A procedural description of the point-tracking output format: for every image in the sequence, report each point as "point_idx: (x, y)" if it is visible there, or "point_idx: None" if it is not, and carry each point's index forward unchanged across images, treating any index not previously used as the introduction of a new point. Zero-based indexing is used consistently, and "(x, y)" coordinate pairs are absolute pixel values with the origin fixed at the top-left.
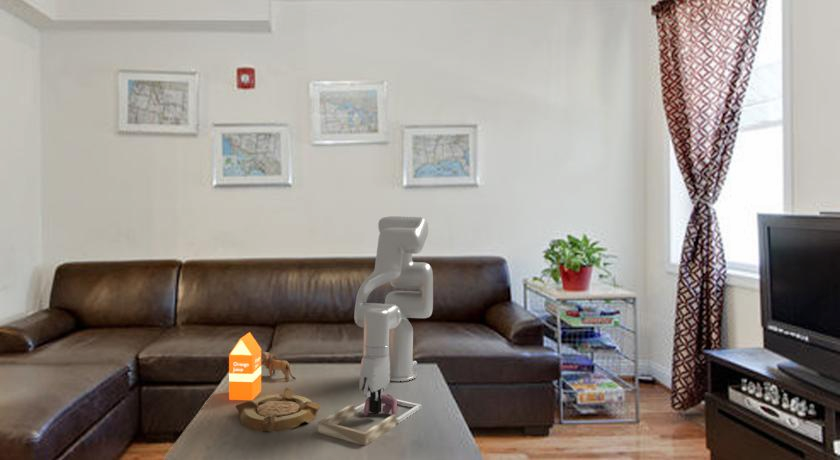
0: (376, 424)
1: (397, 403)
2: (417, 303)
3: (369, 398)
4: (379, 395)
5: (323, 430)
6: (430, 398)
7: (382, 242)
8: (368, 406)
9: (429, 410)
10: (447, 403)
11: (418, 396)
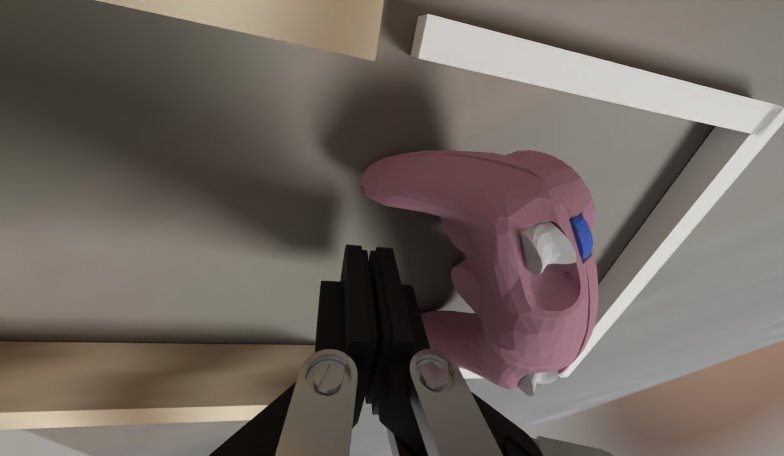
0: (101, 409)
1: (619, 266)
2: None
3: (299, 379)
4: (392, 443)
5: None
6: (682, 343)
7: None
8: (419, 211)
9: None
10: (614, 397)
11: (724, 299)
